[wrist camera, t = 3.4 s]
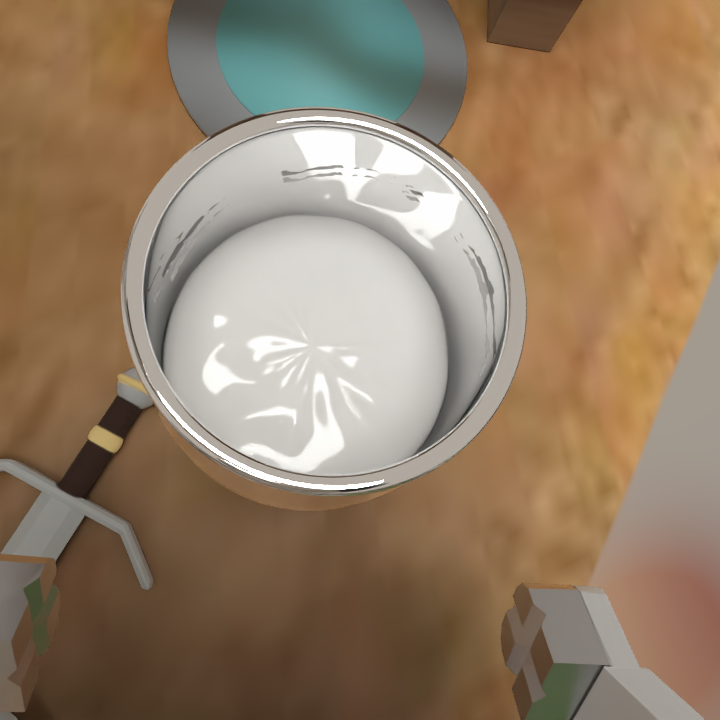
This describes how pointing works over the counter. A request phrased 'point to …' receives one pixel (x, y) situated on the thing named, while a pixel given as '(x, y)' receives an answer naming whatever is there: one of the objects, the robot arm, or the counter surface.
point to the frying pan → (80, 489)
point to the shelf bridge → (339, 56)
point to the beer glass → (322, 306)
